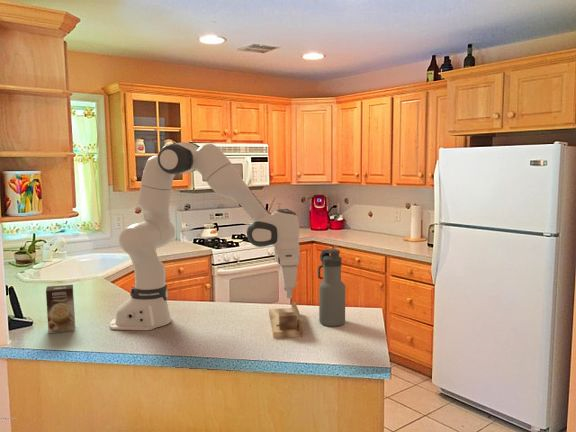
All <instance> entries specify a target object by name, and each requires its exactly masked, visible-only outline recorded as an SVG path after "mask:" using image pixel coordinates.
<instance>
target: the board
mask: <svg viewBox="0 0 576 432" xmlns="http://www.w3.org/2000/svg"><path fill="white" fill-rule="evenodd" d="M268 312H269V313H268V315H269V316H268V317H269V321H270V325H271V326H270V328H271V332H272V338H273V339H275V338H276V339H279V338H281V339H282V338H302V337H303V336H302V335H303V332H304V322H303V320H302V316H301V313H300V311H299V308H298V306H297V302H295V301H294V302H291V307H287V308H268ZM283 312H296V315H297V329H292V330H280V328H279V326H276V325H279V313H283Z"/></svg>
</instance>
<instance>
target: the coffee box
mask: <svg viewBox="0 0 576 432" xmlns="http://www.w3.org/2000/svg"><path fill="white" fill-rule="evenodd" d="M45 295H46V296H45V297H46V314H47V315H46V316H47V334H58V333H64V332H74V331H76V316H75V315H76V314H75V313H76V312H75V299H74V298H75V297H74V284H64V285H51V286H46V288H45Z"/></svg>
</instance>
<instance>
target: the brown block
mask: <svg viewBox="0 0 576 432" xmlns="http://www.w3.org/2000/svg"><path fill="white" fill-rule="evenodd" d="M276 326H279V328H280V330H292V329H297V315H296V312H283V313H279V325H276Z"/></svg>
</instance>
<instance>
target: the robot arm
mask: <svg viewBox="0 0 576 432" xmlns="http://www.w3.org/2000/svg"><path fill="white" fill-rule="evenodd" d="M195 171H196V172H198V173H199V174H200V175H201V176H202V178H203V179H204V181H205V182H206V183H207V185H208V186H209V188H210V189H212V191H214V193H215V194H216V195H218V196H220V197H222V198H226V199H229V200H232V201H234V202H235V203H237V204H239V205H240V206H241V208H242V209H243V210H244V211H245V212H246V214H247V215H248V216H249V218H250V219H251V220H252V222H251V223H250V224H249V225H248V227H247V229H246V236H247V238H246V239H248V242H249V243H250V244H251V245H252V246H255V247H259V248H262V247H266V246H267V247H269V246H274V247H273V248H274V261H275V263H277V264H278V266H279V267H280V276H281V279H282V282H283V286H284V287H283V289H284V291H285V292H286V298H287V299H293V290H294V289H295V288H296V287H297V276H298V266H299V265H300V260H301V258H300V257H301V255H300V253H301V251H300V249H301V248H300V247H301V246H300V243H299V237H300V223H299V218H298V215H297V214H298V213H296V212H295V211H293V210H290V209H286V208H279V209H275V211H273V212H272V213H271V212H269V211H268V210H267V209H266V207H265V206H264V205H263V204H262V202H261V201H260V200H259V199H258V198H257V196H256V195H255V194H254V193H253V192H252V190H251V189H250V188H249V187H248V185H247V184H246V183H245V181H244V180H243V178H242V176H241V175H240V173H239V172H238V171H237V168H236V167H235V166H234V164H233V163H232V162H231V160H230V159H229V158H228V157H227V156H226V154H224V152H223V151H222V150H221V149H220V148H219V147H218V146H217V145H215V144H212V143H206V144H203V145H201V146H199V145H198V144H196V143H194V142H184V141H183V142H177V143H170V144H166V145H164V146H163V147H162V148H161V149H160V150H159V152H158V154H157V155H153V156H151V157H149V158H148V159H147V160H146V163H145V165H144V169H143V173H142V175H141V181H140V186H139V195H138V198H137V200H138V201H137V204H138V207H139V208H140V209H141V210H142V214H143V219H142V221H141V222H137V223H132V224H131V225H128V226H127V227H126V228H124V229H123V230H121V232H120V234H119V238H118V239H119V241H118V242H119V246H120V247H121V249H122V250H123V251H124V252H125V253H126V254H128V256H129V257H130V260H131V262H132V265H133V270H134V282H135V284H133V285H132V286H131V287H130V289H129V290H130V291H129V294H130V297H129V298H127V299H126V300H125V301H123V302H122V303H121V305H119V306H118V308H117V310H116V314H115V318H112V320H111V321H110V322H109V329H110V330H112V331H113V330H114V331H115V330H121V331H123V330H124V331H151V330H153V329H156V328H159V327H163V326H165V325H168V324H170V323H171V322H172V317H171V315H170V314H171V313H170V310H169V304H168V297H169V296H168V294H169V293H168V286H167V284H166V266H165V264H164V263H163V262H162V261H161V260H160V259H159V257H158V254H157V249H159V248H163V247H165V246H166V245H168V244H169V243H171V242H172V241H173V239H174V238H175V234H176V229H175V227H174V225H173V223H172V222H171V219H170V209H169V207H170V202H171V194H172V189H173V188H172V187H173V181H174V178H175V176H176V175H184V174H188V173H193V172H195Z"/></svg>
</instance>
